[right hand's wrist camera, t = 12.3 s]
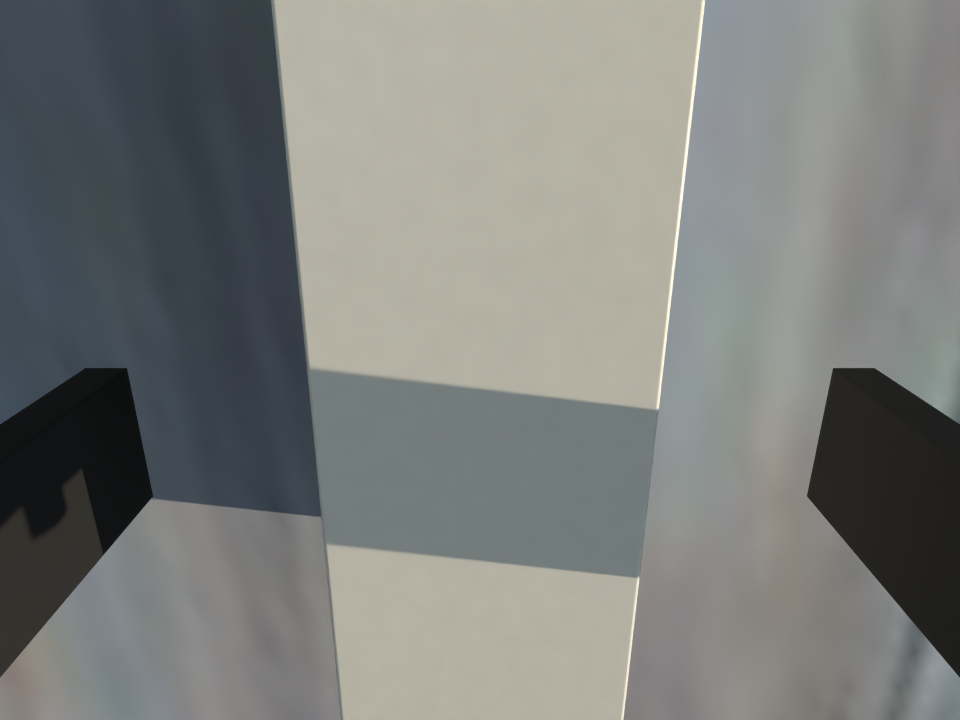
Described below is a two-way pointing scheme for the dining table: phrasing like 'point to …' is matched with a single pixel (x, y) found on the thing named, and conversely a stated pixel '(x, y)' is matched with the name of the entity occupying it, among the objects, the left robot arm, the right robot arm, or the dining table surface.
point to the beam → (485, 334)
